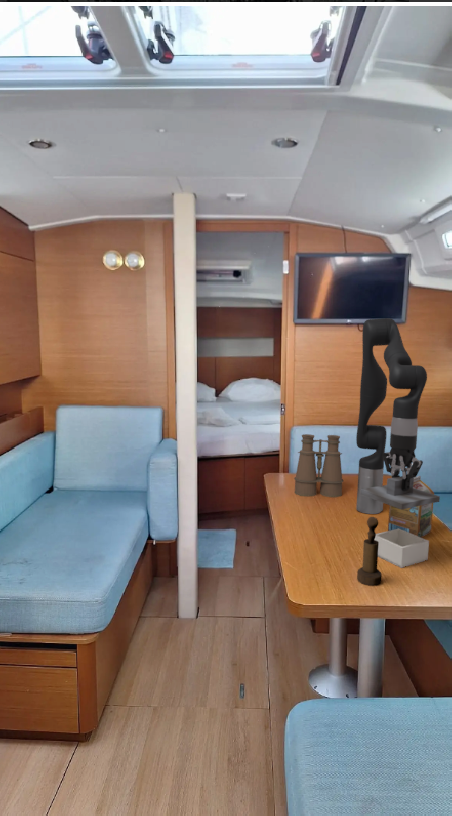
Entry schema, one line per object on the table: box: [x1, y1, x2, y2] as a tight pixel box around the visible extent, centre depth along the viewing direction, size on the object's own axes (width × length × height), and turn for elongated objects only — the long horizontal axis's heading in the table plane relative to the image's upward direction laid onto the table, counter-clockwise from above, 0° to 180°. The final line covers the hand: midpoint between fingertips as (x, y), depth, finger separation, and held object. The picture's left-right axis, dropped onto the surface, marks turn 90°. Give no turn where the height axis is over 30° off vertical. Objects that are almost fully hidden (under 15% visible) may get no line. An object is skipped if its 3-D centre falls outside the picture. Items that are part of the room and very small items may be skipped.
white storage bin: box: [374, 529, 430, 569], centre depth 162 cm, size 12×12×6 cm
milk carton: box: [387, 475, 435, 538], centre depth 182 cm, size 11×11×19 cm
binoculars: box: [293, 433, 344, 498], centre depth 224 cm, size 21×10×25 cm, turn 88°
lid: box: [361, 475, 441, 510], centre depth 160 cm, size 16×16×6 cm
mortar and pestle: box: [356, 516, 383, 587], centre depth 145 cm, size 7×6×18 cm
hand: (400, 488), depth 160 cm, fingers closed on lid, 3 cm apart
